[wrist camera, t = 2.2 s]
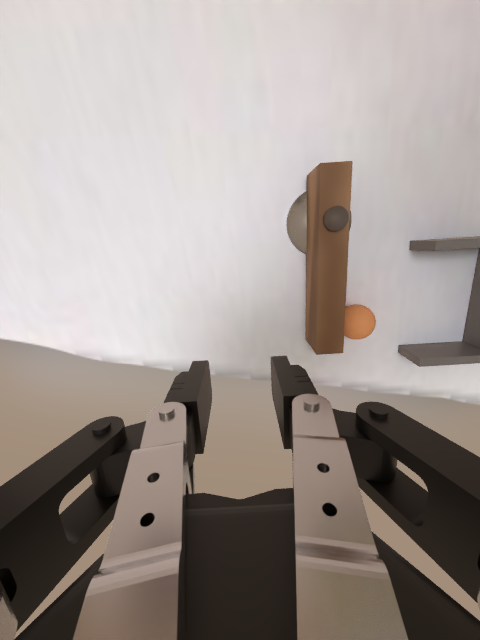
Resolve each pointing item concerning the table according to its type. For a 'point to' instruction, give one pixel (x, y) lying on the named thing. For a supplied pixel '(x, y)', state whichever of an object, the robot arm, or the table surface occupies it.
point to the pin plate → (299, 223)
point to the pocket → (476, 338)
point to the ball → (358, 322)
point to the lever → (327, 255)
